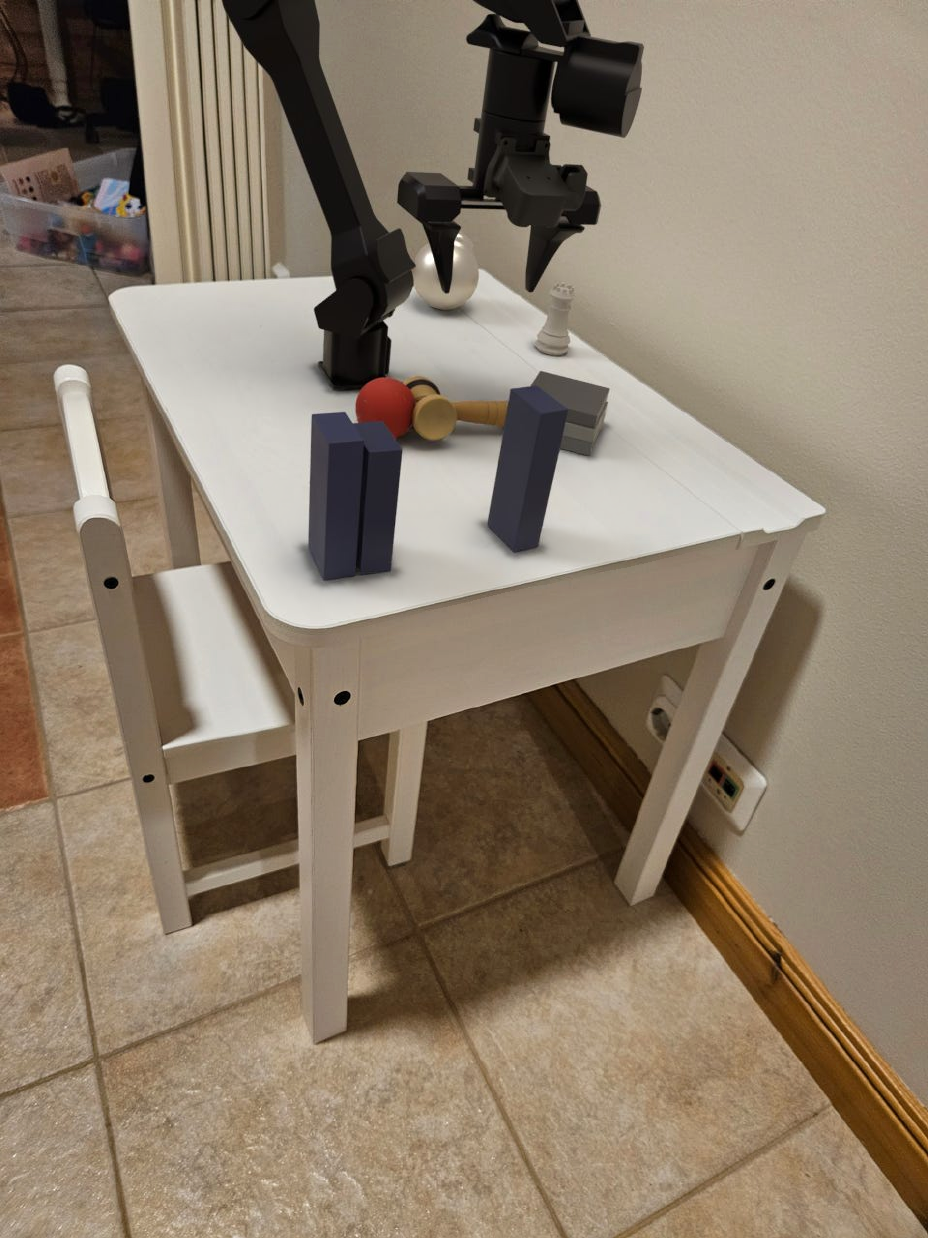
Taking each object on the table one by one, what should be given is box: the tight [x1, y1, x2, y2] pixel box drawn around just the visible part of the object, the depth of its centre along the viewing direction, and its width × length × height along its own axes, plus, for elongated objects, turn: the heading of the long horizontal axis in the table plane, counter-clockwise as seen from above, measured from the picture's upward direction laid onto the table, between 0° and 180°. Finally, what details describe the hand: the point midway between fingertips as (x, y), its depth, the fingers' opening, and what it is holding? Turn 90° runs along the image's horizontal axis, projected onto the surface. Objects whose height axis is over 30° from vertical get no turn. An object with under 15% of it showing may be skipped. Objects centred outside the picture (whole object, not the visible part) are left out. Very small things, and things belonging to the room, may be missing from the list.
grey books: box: [530, 370, 611, 457], centre depth 93 cm, size 8×8×4 cm
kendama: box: [354, 375, 509, 441], centre depth 89 cm, size 8×6×18 cm
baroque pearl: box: [412, 230, 480, 311], centre depth 116 cm, size 9×10×10 cm
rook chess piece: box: [534, 282, 576, 356], centre depth 110 cm, size 4×4×8 cm
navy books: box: [307, 411, 404, 581], centre depth 68 cm, size 6×4×12 cm
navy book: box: [486, 385, 568, 553], centre depth 73 cm, size 3×4×13 cm, turn 30°
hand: (487, 291), depth 87 cm, fingers open, 9 cm apart
